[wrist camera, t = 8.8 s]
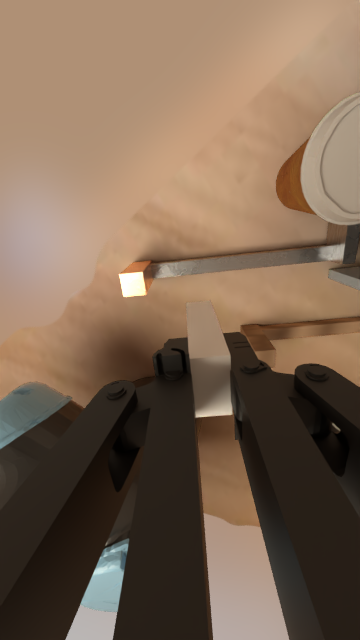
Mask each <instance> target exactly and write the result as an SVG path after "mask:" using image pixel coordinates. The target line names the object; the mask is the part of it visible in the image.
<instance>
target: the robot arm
mask: <svg viewBox="0 0 360 640" xmlns="http://www.w3.org/2000/svg"><path fill="white" fill-rule="evenodd" d="M186 312H187V332H188V337H187V338H176V339H169V340H168V341H167V342H166V343H165V344H164V348H163V349H161V350H158V351H157V352H156V353H154V355H153V357H152V358H153V363H154V369H155V375H156V377H148V378H143V379H139V380H137V381H134V382H132V383H131V382H129V381H125V380H124V381H115V382H112V383H110V384H108V385H106V386H104V387H103V388H102V389H101V390H100V391H99V392H98V393H97V394H96V395H95V397H94V398H93V399H92V400H91V401H90V403H89V404H88V405H87V406H86V408H83V407H82V406H80V405H78V404H77V403H75V402H74V401H72V400H71V399H72V397H70V396H65V395H63V394H61V393H59V392H58V391H56V390H54V389H52V388H51V387H49V386H47V385H45V384H43V383H40V382H29V383H26V384H23V385H21V386H19V387H18V388H16V389H15V390H13V391H12V392H11V393H9V394H8V395H7V396H6V397H4V398H3V399H2V400H1V401H0V640H65V639H66V637H67V634H68V632H69V630H70V627H71V625H72V623H73V620H74V618H75V615H76V613H77V611H78V608H79V606H80V605H82V606H84V607H87V608H90V609H94V610H98V611H107V612H117V618H116V624H115V630H114V636H113V640H213V633H212V619H211V606H210V593H209V581H208V568H207V554H206V542H205V528H204V515H203V502H202V489H201V476H200V463H199V450H198V434H199V431H200V427H201V417H208V416H221V415H232V407H233V411H234V419H235V440H239V444H240V448H241V452H242V455H243V459H244V463H245V467H246V471H247V475H248V479H249V483H250V487H251V491H252V495H253V499H254V502H255V506H256V510H257V514H258V518H259V522H260V526H261V530H262V534H263V538H264V541H265V546H266V549H267V553H268V557H269V561H270V565H271V569H272V573H273V577H274V581H275V585H276V589H277V592H278V596H279V600H280V604H281V608H282V612H283V616H284V620H285V624H286V627H287V632H288V636H289V640H360V387H358V386H357V385H355V384H354V383H352V382H351V381H349V380H348V379H346V378H345V377H343V376H342V375H340V374H339V373H337V372H336V371H334V370H332V369H330V368H328V367H326V366H323V365H319V364H303V365H300V366H298V367H297V368H296V369H295V375H293V374H283V373H277V372H274V371H272V370H271V368H270V366H269V365H268V364H267V363H265V362H263V361H261V360H259V359H258V357H257V356H256V354H255V352H254V350H253V348H252V347H251V345H250V343H249V341H248V339H247V338H246V336H245V335H243V334H241V333H240V332H233V333H222V330H221V328H220V325H219V322H218V319H217V316H216V314H215V311H214V308H213V305H212V303H211V300H209V301H199V302H188V303H186ZM332 424H335V425H336V426H337V427H338V428H339V429H340V431H339V430H338V429H336V428H335V427H334V426H333V425H332Z"/></svg>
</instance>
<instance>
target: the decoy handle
mask: <svg viewBox="0 0 360 640" xmlns="http://www.w3.org/2000/svg"><path fill="white" fill-rule="evenodd" d="M359 332H360V317H352V318H341V319H330V320H319V321H308V322H297V323H286V324H275V325H264V326H258V324H252V325H241V334H243V335H245V336H246V338H247V339H248V341H249V343H250V345H251V347H252V348H253V350H254V352H255V354H256V356H257V357H258V359H259V360H261V361H263V362H265V363H267V364H268V365H269V366H270V368H274V367H275V360H276V349H275V348H274V346H273V345H272V344H271V342H270V341H269V340H280V339H291V338H302V337H313V336H325V335H336V334H347V333H359Z"/></svg>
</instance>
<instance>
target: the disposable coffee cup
mask: <svg viewBox="0 0 360 640" xmlns="http://www.w3.org/2000/svg"><path fill="white" fill-rule="evenodd" d="M276 191H277V195H278V198H279V199H280V201H281V202H282V203H283V204H284V205H285V206H286V207H288V208H290V209H294V210H298V211H303V212H306V213H311V214H315V215H318V216H319V217H321V218H322V219H323V220H325V221H328V222H331V223H334V224H338V225H353V224H359V223H360V92H358V93H355V94H353V95H351V96H349V97H347V98H345V99H344V100H342V101H341V102H340V103H339V104H337V105H336V106H335V107H334V108H332V109H331V110H330V111H329V112H328V113H327V114H326V115H325V117H324V118H323V119H322V120H321V121H320V122H319V124H318V125H317V127H316V128H315V130H314V131H313V133H312V135H311V137H310V138H309V139H307V141H306V142H305V143H304V144H303V145H302V146H301V147H300V148H299V149H298V150H297V151H296V152H295V153H294V154H293V155H292V156H291V157H290V158H289V159H288V160H287V161H286V162H285V163H284V164H283V166H282V167H281V169H280V171H279V173H278V176H277V180H276Z"/></svg>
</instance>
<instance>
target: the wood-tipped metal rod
mask: <svg viewBox="0 0 360 640" xmlns="http://www.w3.org/2000/svg"><path fill="white" fill-rule="evenodd" d="M359 235H360V223H359V224H353V225H338V224H334V223H331V222H329V223H328V232H327V241H326V245H320V246H310V247H301V248H291V249H282V250H272V251H262V252H253V253H243V254H234V255H224V256H215V257H205V258H195V259H186V260H176V261H167V262H157V263H152V262H151V261H142V262H133V263H132V264H131V265H129V266H128V267H127V268H126V269H125V270H124V271H123V272H121V273H120V274H119V276H120V281H121V286H122V291H123V296H124V297H128V296H138V295H146V294H147V292H148V290H149V288H150V286H151V284H152V281H153V279H154V278H162V277H172V276H182V275H192V274H202V273H212V272H221V271H231V270H241V269H251V268H261V267H271V266H280V265H290V264H300V263H310V262H320V261H332V262H335V263H339V264H351V263H355V260H356V254H357V248H358V242H359Z"/></svg>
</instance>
